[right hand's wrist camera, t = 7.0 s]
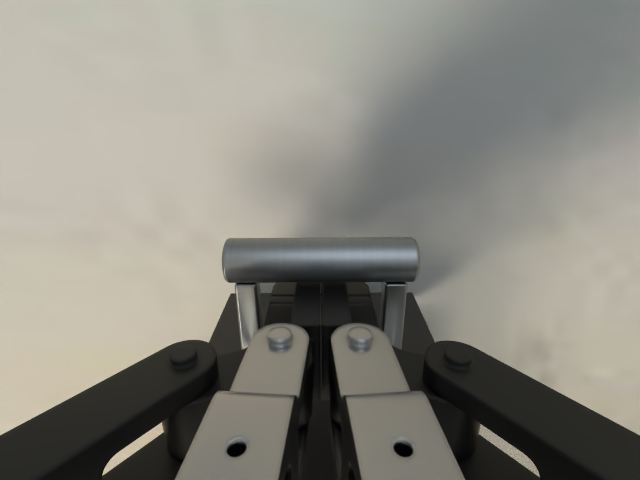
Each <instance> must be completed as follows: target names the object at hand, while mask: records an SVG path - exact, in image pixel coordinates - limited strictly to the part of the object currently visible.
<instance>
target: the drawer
mask: <svg viewBox="0 0 640 480" xmlns="http://www.w3.org/2000/svg"><path fill="white" fill-rule="evenodd" d="M419 266H420V256H419V248H418V244H417V242H416V240H415V239H414V238H412V237H382V238H230V239H227V240H226V242H225V244H224V247H223V253H222V269H223V275H224V278H225V280H226V281H227V282H229V283H236V285H235V293H236V294H230V297H229V299H228V301H227V303H226V305H225V308H224V310H223V312H222V314H221V317H220V319H219V321H218V323H217V326H216V328H215V330H214V332H213V335H212V337H211V339H210V341H209V343H210V344H211V345H212V346H213V347H214V348H215V350H216V354H217V356H218V355H223V354H227V353H232V352H236V351H239V350H242V349H245V348H247V347H248V345H249V343H250V340H251V338H252V336H253V335H254V333H255V332H256V331H258V330H259V329H261V328H262V327H264V323H265V319H266V315H267V311H268V307H269V304H270V299H271V295H272V293H260V282H382V293H370V295H371V298H372V304H373V306H374V310H375V314H376V318H377V321H378V325H379V329H381V330H382V331H383V332H385V334H386V335H387V336H388V338H389V341H390V343H391V345H392V346H394V347H396V348H398V349H401V350H404V351H407V352H411V353H416V354H421V355H425V351H426V349H427V348H428V347H429V346H430V345H431V344H433V343H435V342H434V340H433V337H432V335H431V333H430V331H429V329H428V326H427V324H426V322H425V320H424V318H423V315H422V313H421V311H420V309H419V307H418V304H417V302H416V300H415V298H414V296H413V293H407V284H406V282H413V281H415V280H416V279H417V276H418V273H419ZM304 480H336V473H335V465H334V457H333V449H332V441H331V433H330V400H322V358H321V401H313V411H312V415H311V418H310V432H309V440H308V448H307V457H306V465H305V473H304Z"/></svg>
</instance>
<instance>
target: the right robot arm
mask: <svg viewBox="0 0 640 480" xmlns="http://www.w3.org/2000/svg"><path fill="white" fill-rule="evenodd" d="M321 358H322V400H330V433H331V441H332V449H333V457H334V465H335V473H336V480H640V436H639V435H638V434H636V433H634V432H632V431H630V430H628V429H626V428H624V427H623V426H621V425H619V424H617V423H615V422H613V421H611V420H609V419H608V418H606V417H604V416H602V415H600V414H598V413H596V412H594V411H593V410H591V409H589V408H587V407H585V406H583V405H581V404H579V403H578V402H576V401H574V400H572V399H570V398H568V397H566V396H564V395H562V394H561V393H559V392H557V391H555V390H553V389H551V388H549V387H547V386H546V385H544V384H542V383H540V382H538V381H536V380H534V379H532V378H531V377H529V376H527V375H525V374H523V373H521V372H519V371H517V370H516V369H514V368H512V367H510V366H508V365H506V364H504V363H502V362H501V361H499V360H497V359H495V358H493V357H491V356H489V355H487V354H485V353H484V352H482V351H480V350H478V349H476V348H474V347H472V346H470V345H467V344H464V343H461V342H456V341H439V342H436V343H433V344H431V345H430V346H429V347H428V348H427V349H426V351H425V355H421V354H416V353H411V352H407V351H404V350H401V349H398V348H396V347H394V346H392V345H391V343H390V341H389V338H388V336H387V335H386V334H385V332H383V331H382V330H381V329H379V325H378V321H377V318H376V314H375V310H374V306H373V304H372V298H371V295H370V291H369V287H368V285H367V284H366V283H364V282H277V283H276V284H275V285H274V287H273V291H272V295H271V299H270V304H269V307H268V311H267V315H266V319H265V323H264V327H262V328H261V329H259V330H258V331H256V332H255V333H254V335H253V336H252V338H251V340H250V343H249V345H248V347H247V348H245V349H242V350H239V351H236V352H232V353H227V354H223V355H218V356H217V354H216V350H215V348H214V347H213V346H212V345H211V344H210V343H208V342H205V341H200V340H187V341H181V342H178V343H175V344H172V345H170V346H168V347H166V348H164V349H162V350H160V351H158V352H156V353H154V354H153V355H151V356H149V357H147V358H145V359H143V360H141V361H139V362H138V363H136V364H134V365H132V366H130V367H128V368H126V369H124V370H123V371H121V372H119V373H117V374H115V375H113V376H111V377H109V378H108V379H106V380H104V381H102V382H100V383H98V384H96V385H94V386H92V387H91V388H89V389H87V390H85V391H83V392H81V393H79V394H77V395H76V396H74V397H72V398H70V399H68V400H66V401H64V402H62V403H61V404H59V405H57V406H55V407H53V408H51V409H49V410H47V411H46V412H44V413H42V414H40V415H38V416H36V417H34V418H32V419H31V420H29V421H27V422H25V423H23V424H21V425H19V426H17V427H15V428H14V429H12V430H10V431H8V432H6V433H4V434H2V435H0V480H304V473H305V465H306V457H307V448H308V440H309V432H310V418H311V415H312V411H313V401H321ZM161 422H162V425H163V430H164V433H162V434H161V435H159V436H158V437H157V438H155V439H154V440H152V441H151V442H150V443H148V444H147V445H145V446H144V447H143V448H141V449H140V450H138V451H137V452H136V453H134V454H133V455H131V456H130V457H129V458H127V459H126V460H124V461H123V462H122V463H120V464H119V465H117V466H116V467H114V468H113V469H112V470H110V471H109V472H107V473H106V474H105V475H103V476H102V474H103V470H104V468H105V466H106V465H107V463H108V462H109V460H110V459H111V458H112V457H113V456H114V455H115V454H116V453H118V452H119V451H120V450H122V449H123V448H125V447H126V446H127V445H129V444H130V443H132V442H133V441H135V440H136V439H138V438H139V437H141V436H142V435H144V434H145V433H146V432H148V431H149V430H151V429H152V428H154V427H155V426H157V425H158V424H160V423H161ZM480 424H482V425H483V426H485V427H486V428H488V429H489V430H491V431H492V432H493V433H495V434H496V435H498V436H499V437H501V438H502V439H504V440H505V441H507V442H508V443H510V444H511V445H512V446H514V447H515V448H517V449H518V450H520V451H521V452H523V453H524V454H525V455H526V456H528V457H529V458H530V459H531V461H532V462H533V463H534V464H535V466H536V467H537V469H538V471H539V474H540V477H538V476H537V475H535V474H534V473H532V472H531V471H530V470H528V469H527V468H525V467H524V466H523V465H521V464H520V463H518V462H517V461H516V460H514V459H513V458H511V457H510V456H509V455H507V454H506V453H504V452H503V451H502V450H500V449H499V448H497V447H496V446H495V445H493V444H492V443H490V442H489V441H488V440H486V439H485V438H483V437H482V436H480V435H479V429H480Z"/></svg>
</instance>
